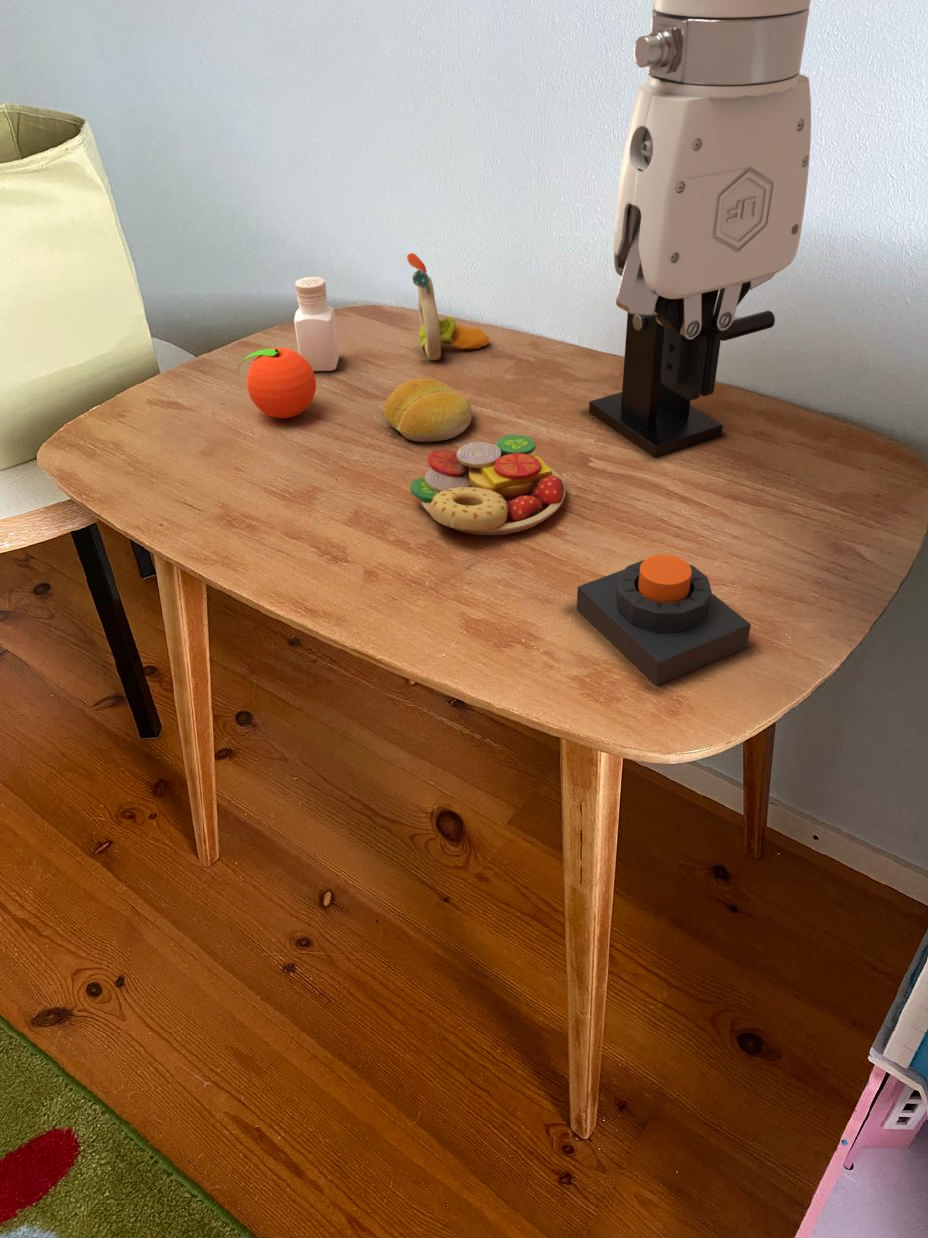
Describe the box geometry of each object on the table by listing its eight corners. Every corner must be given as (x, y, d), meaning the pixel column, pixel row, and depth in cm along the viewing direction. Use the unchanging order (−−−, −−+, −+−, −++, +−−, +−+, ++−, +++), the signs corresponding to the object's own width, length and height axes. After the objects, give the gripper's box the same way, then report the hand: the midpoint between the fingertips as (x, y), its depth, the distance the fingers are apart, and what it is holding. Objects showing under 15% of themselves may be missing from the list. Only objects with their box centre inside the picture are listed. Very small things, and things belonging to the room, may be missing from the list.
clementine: (233, 428, 100) (220, 362, 95) (255, 397, 105) (243, 333, 101) (309, 431, 99) (299, 365, 94) (327, 400, 104) (319, 336, 100)
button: (699, 594, 70) (702, 574, 69) (658, 610, 69) (660, 590, 67) (668, 568, 72) (670, 549, 71) (628, 583, 71) (629, 564, 70)
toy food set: (445, 558, 81) (443, 524, 79) (394, 482, 90) (391, 451, 88) (590, 520, 84) (592, 487, 82) (526, 451, 94) (526, 420, 92)
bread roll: (419, 453, 94) (416, 415, 92) (373, 419, 100) (370, 382, 98) (490, 428, 98) (489, 391, 95) (442, 396, 104) (440, 360, 101)
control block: (746, 647, 71) (755, 603, 68) (656, 686, 68) (661, 641, 65) (661, 577, 78) (666, 535, 75) (576, 609, 75) (578, 566, 72)
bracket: (721, 435, 95) (740, 306, 87) (654, 457, 92) (667, 325, 84) (652, 392, 103) (663, 270, 95) (588, 411, 100) (594, 287, 92)
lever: (775, 334, 82) (775, 304, 81) (728, 347, 81) (727, 317, 80) (676, 321, 93) (675, 295, 92) (633, 333, 91) (631, 306, 90)
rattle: (482, 367, 109) (480, 263, 102) (410, 366, 110) (402, 263, 103) (490, 340, 115) (487, 240, 108) (420, 339, 116) (414, 239, 109)
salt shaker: (336, 372, 109) (326, 287, 104) (300, 373, 110) (288, 288, 104) (340, 357, 113) (330, 274, 107) (306, 358, 113) (294, 275, 107)
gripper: (649, 81, 44) (622, 446, 56) (891, 43, 49) (821, 383, 61) (558, 58, 49) (551, 395, 61) (786, 26, 55) (739, 342, 66)
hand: (686, 388), depth 61 cm, fingers closed
